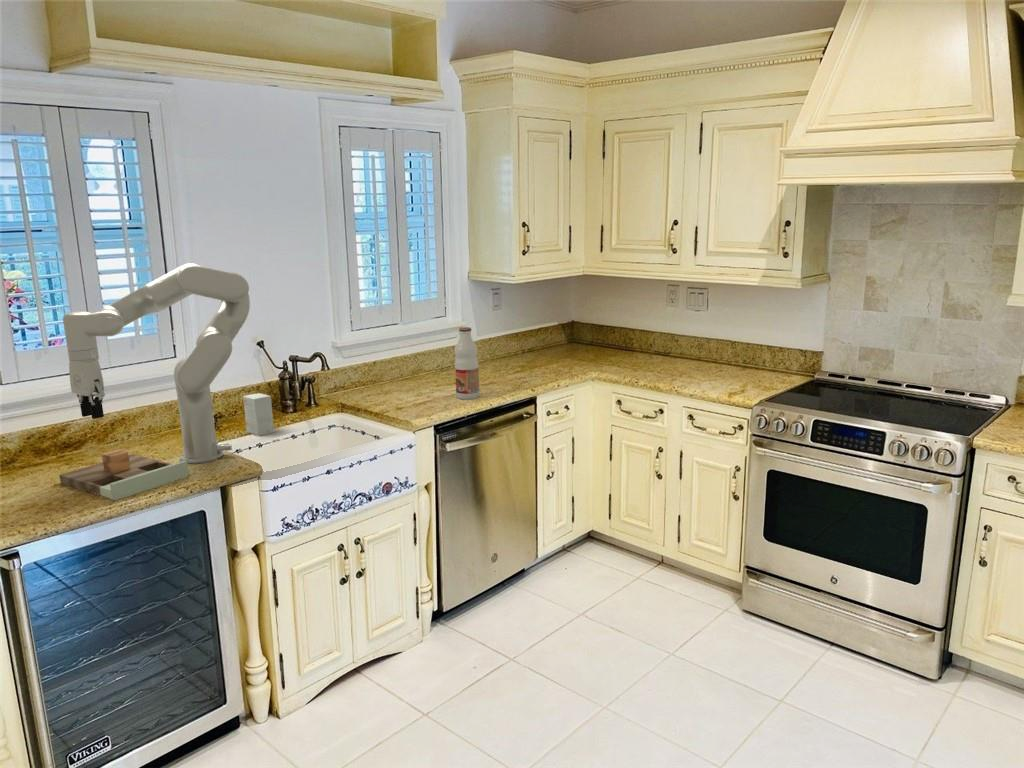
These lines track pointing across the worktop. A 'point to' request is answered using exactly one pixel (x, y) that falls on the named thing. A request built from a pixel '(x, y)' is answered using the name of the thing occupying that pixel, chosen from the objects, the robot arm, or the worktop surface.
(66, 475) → the track
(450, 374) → the worktop surface
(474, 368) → the fruit juice
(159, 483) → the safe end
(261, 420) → the small box
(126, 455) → the block
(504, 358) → the worktop surface
